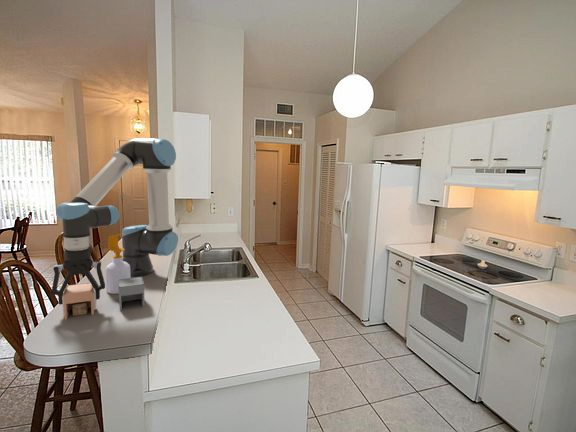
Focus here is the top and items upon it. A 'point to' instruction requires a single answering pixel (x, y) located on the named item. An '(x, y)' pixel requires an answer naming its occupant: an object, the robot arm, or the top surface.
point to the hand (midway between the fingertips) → (80, 309)
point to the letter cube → (80, 308)
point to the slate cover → (131, 290)
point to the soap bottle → (116, 266)
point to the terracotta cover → (78, 296)
